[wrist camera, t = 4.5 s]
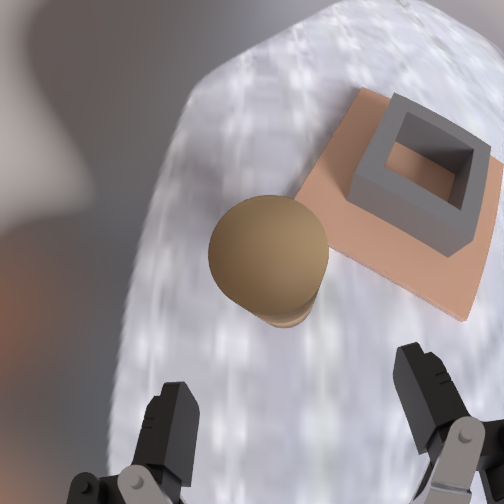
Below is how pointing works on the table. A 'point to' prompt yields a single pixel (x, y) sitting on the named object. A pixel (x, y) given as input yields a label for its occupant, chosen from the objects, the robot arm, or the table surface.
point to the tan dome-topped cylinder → (270, 258)
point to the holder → (408, 198)
